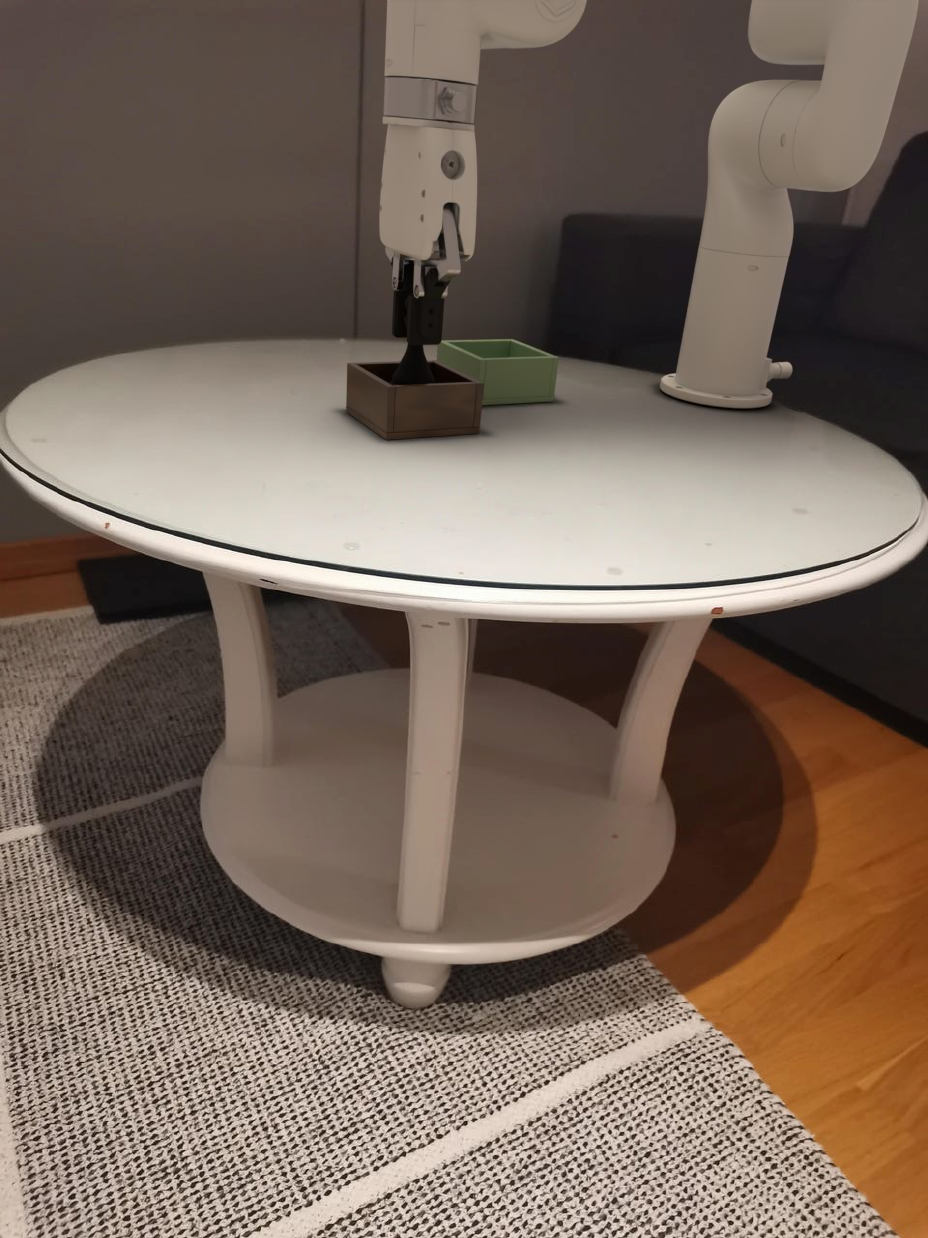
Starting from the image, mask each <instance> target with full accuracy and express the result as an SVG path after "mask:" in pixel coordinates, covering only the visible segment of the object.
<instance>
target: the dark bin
mask: <svg viewBox="0 0 928 1238" xmlns="http://www.w3.org/2000/svg"><path fill="white" fill-rule="evenodd" d="M400 362H401V360H398V361H397V360H396V361H365V362H364V361H363V362H347V363H346V396H345V397H346V398H345V399H346V401H345V403H346V404H345V412H346V413H347V414H349V415H350V416H351V417H353V418H354V419H356V420H357V421H358V422H360V423H362V424H363V425H364V426H366V427H367V428H368V429H370V430H372V431H373V432H375V433H376V434H377V435H378V436H380V437H382V438H383V439H384V440H385V441H388V440H402V439H419V438H431V437H432V438H433V437H444V436H445V437H446V436H461V435H472V434H473V435H475V434H480V431H481V420H482V409H483V405H482V399H483V388H484V383H482V382H480V381H478V380H476V379H474V378H472V377H470V376H468V375H466V374H464V373H462V372H460V371H458V370H456V369H454V368H452V367H449V366H447V365H445V364H443V363H441V362H439V361H437V359H435V360H427V362H428V365H429V368H430V371H431V373H432V375H433V377H434V380H435V382H434V384H413V385H393V386H392V385H391V384H389V383H390V381H392V376H393V374H394V373H395V371H396V370H397V368H398V367H399V364H400Z"/></svg>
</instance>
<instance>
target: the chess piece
mask: <svg viewBox="0 0 928 1238" xmlns="http://www.w3.org/2000/svg"><path fill="white" fill-rule="evenodd" d="M409 297H414V293H410V295H409V296H408V297H407V298H406V300H405V307H406V310H407V316H405V317H404V323H405V325H406V328H407V323H408V305H409ZM424 349H425V348H424V345H411V344H409V343H408V342H407V346H406V350H405V352H404V354H403V356H402V358H401V360H400V361H401V362H400V364H399V367H398V368H397V370H396V371H395V373H394V374H393V376H392V381H390V383H389V384H391V385H392V386H393V385H413V384H434V382H435V380H434V377H433V375H432V373H431V371H430V368H429V365H428V362H427V361H428V359H427V357H426V354H425V350H424Z"/></svg>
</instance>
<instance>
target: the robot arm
mask: <svg viewBox="0 0 928 1238" xmlns="http://www.w3.org/2000/svg"><path fill="white" fill-rule="evenodd" d="M919 1H920V0H751V4H750V9H749V10H750V11H749V17H748V24H747V39H748V44H749V46H750V49H751V51H752V52H753V54H754V55H755V56H756V57H757V58H758V59H759V60H762V61H764V62H767V63H769V64H775V65H787V66H788V65H789V66H824V67H823V72H822V76H821V80H807V79H765V80H764V79H763V80H757V81H756V80H755V81H752V82H748V83H745V84H743V85H740V86H739V87H737V88H735V89H734V90H732V91H731V92H730V93H729V94H727V95H726V96H725V97H724V98H723V99H722V100H721V102H720V104H719V105H718V107H717V108H716V110H715V112H714V114H713V117H712V120H711V122H710V127H709V131H708V138H707V139H708V140H707V189H706V199H705V208H704V213H703V214H704V215H703V220H702V221H703V222H702V227H701V234H700V238H699V239H700V240H699V244H698V247H697V248H698V249H697V255H696V259H695V264H694V265H695V266H694V271H693V277H692V283H691V288H690V292H689V293H690V294H689V298H688V305H687V309H686V310H687V312H686V314H685V315H686V316H685V321H684V326H683V332H682V336H681V337H682V338H681V343H680V348H679V354H678V360H677V365H676V371H675V373H669V374H666V375H664V376H663V377H661V378H660V382H659V383H660V384H659V389H660V391H662V392H663V393H664V394H666V395H668V396H670V397H673V398H675V399H679V400H682V401H686V402H690V403H694V404H698V405H704V406H710V407H717V408H727V409H729V408H730V409H758V408H762V407H767V406H768V405H770V404H771V403H772V400H773V392H772V390H771V389H769V388H768V387H767V383H769V382H770V381H771V380H788V379H789V378H790V377H791V376H792V374H793V366H792V364H791V363H790V362H789V361H783V362H782V361H779V362H772V361H773V359H772V358H769V357H768V352H769V347H770V343H771V338H772V333H773V330H774V325H775V321H776V315H777V311H778V306H779V302H780V298H781V293H782V288H783V285H784V279H785V275H786V271H787V266H788V262H789V257H790V255H791V250H792V246H793V239H794V217H793V210H792V206H791V205H792V204H791V202H790V201H791V200H790V198H789V197H790V196H789V193H788V189H791V190H800V191H801V190H802V191H808V192H809V191H811V192H820V193H823V192H825V193H835V192H841V191H844V190H845V191H846V190H848V189H850V188H851V187H853V186H855V185H857V184H858V183H859V182H860V181H861V180H862V179H863V178H864V177H865V176H866V175H867V173H868V172H869V171H870V169H871V168H872V166H873V164H874V163H875V160H876V159H877V156H878V153H879V151H880V149H881V146H882V143H883V140H884V137H885V134H886V130H887V127H888V123H889V120H890V116H891V112H892V110H893V107H894V103H895V99H896V95H897V91H898V87H899V84H900V80H901V77H902V73H903V69H904V67H905V63H906V59H907V56H908V53H909V48H910V44H911V40H912V37H913V33H914V29H915V24H916V20H917V15H918V9H919ZM587 2H588V0H386V25H385V48H384V49H385V51H384V79H383V103H382V104H383V105H382V125H387V130H386V136H385V144H384V151H383V161H382V170H381V171H382V172H381V182H380V196H379V197H380V198H379V216H378V217H379V218H378V220H379V223H378V225H379V226H378V227H379V240H380V241H381V243H382V245H383V246H384V247H385V248H384V250H385V255H386V257H387V258H388V260H389V262H390V266H391V268H392V274H391V275H392V276H391V287H392V289H393V297H392V320H391V322H392V323H391V336H392V337H394V338H397V339H406V342H407V344H408V343H409V344H411V345H423V346H438V344H440V343H441V341H442V340H443V325H444V313H445V312H444V310H445V299H447V297H448V293H449V284H450V283H451V281H452V280H453V279H455V278H456V277H457V276H459V275H460V274H461V271H462V266H461V265H462V263H461V262H467V261H470V260H471V258H472V257H473V256H474V253H475V247H476V231H477V212H478V211H477V210H478V158H477V157H478V156H477V143H476V132H475V129H476V128H475V124H476V116H477V115H476V113H477V101H478V100H477V99H478V89H479V88H478V87H479V86H478V85H479V74H480V62H481V51H482V50H495V49H511V50H512V49H513V50H515V49H533V48H534V49H535V48H542V47H547V46H549V45H552V44H555V43H557V42H559V41H561V40H563V39H564V38H565V37H566V36H567V35H569V34H570V33H571V32H572V31H573V30H574V29H575V28H576V27H577V25H578V24H579V22H580V20H581V19H582V18H583V14H584V12H585V9H586V6H587ZM432 254H435V255H438V257H439V258H435V257H433V258H432ZM427 268H429V269H428V271H427ZM410 293H414V297H409V305H408V323H407V328H406V325H405V323H404V317H405V316H407V310H406V307H405V300H406V298H407V297H408V296H409V295H410Z"/></svg>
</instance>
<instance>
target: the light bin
mask: <svg viewBox="0 0 928 1238" xmlns="http://www.w3.org/2000/svg"><path fill="white" fill-rule="evenodd" d="M436 350H437V352H436V360H437V361H439V362H441V363H443V364H445V365H447V366H449V367H452V368H454V369H456V370H458V371H460V372H462V373H464V374H466V375H468V376H470V377H472V378H474V379H476V380H478V381H480V382H482V383H484V388H483V399H482V406H492V405H493V406H494V405H495V406H496V405H513V404H530V403H544V402H546V403H549V402H554V401H555V393H556V384H557V376H558V369H559V360H560V357H559V356H557V355H553V354H551V353H549V352H547V351H545V350H544V351H543V350H541V349H539V348H536V347H534V346H531V345H529V344H526V343H523V342H521V341H520V340H516V339H513V338H505V339H503V338H502V339H500V338H499V339H453V340H452V339H450V340H448V339H447V340H445V339H444V340H443V339H442V341H441V343H440V344H438V345H437V349H436Z"/></svg>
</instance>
